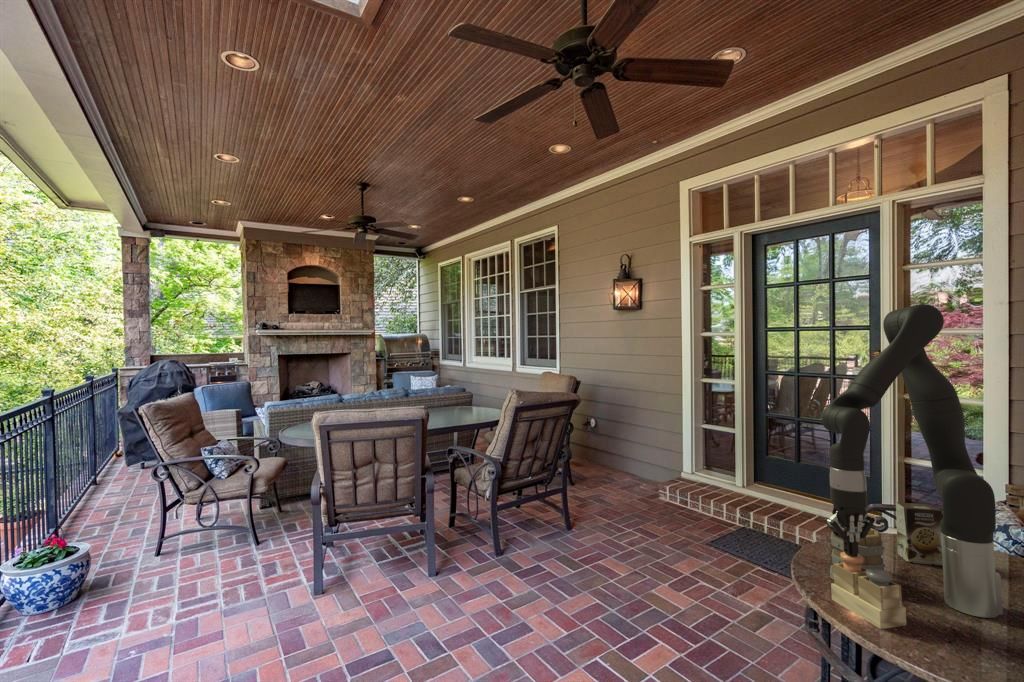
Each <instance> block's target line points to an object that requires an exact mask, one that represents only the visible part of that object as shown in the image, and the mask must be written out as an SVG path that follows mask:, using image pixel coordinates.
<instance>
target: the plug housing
mask: <svg viewBox="0 0 1024 682" xmlns="http://www.w3.org/2000/svg"><path fill="white" fill-rule="evenodd" d="M832 565H833V572H834V580H833V583H830V584H831V585H830V589H831V590H830V591H831V600H832V601H834V602H835V603H837V604H838V605H840V606H842V607H844V608H845V609H846V610H848V611H850V612H851V613H853V614H855V615H857V617H860V618H861V619H863V620H865V621H866V622H869V624H872V625H873V626H875V627H877V628H878V629H880V630H884V629H890V628H891V629H892V628H896V627H905V626H907V612H906V611H907V609H906V607H905V606H903V601H902V600H903V599H902V585H900V584H899V583H898V582H897V583H896V582H894V581H893V580H891V582H889V586H881V587H880V586H878V585H876V584H874V583H872V582H870V581H869V578H868V577H867V576H866V570H867V569H866V568H864V567H862V566H861V572H854V573H852V572H850V571H848V570H847V569H845V568H844V566H843V563H836V564H834V563H832Z"/></svg>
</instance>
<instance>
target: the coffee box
mask: <svg viewBox="0 0 1024 682" xmlns="http://www.w3.org/2000/svg"><path fill="white" fill-rule="evenodd" d="M895 510H896V512H895V513H896V514H895V516H896V540H897V541H896V542H897V545H896V546H897V554H898V555H899V556H900V557H901V558H902V557H903V558H902V559H903V560H905V561H906V562H907V561H908V562H907V563H910V562H913V563H912V564H922V565H932V564H934V566H943V561H942V544H941V529H940V522H941V520H942V519H943V509H942V510H941V509H940V508H937V507H935V506H933V505H932V504H928V503H927V504H926V503H925V504H924V503H912V502H911V503H909V502H900V501H899V502H898V501H897V502H896V501H895Z"/></svg>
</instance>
